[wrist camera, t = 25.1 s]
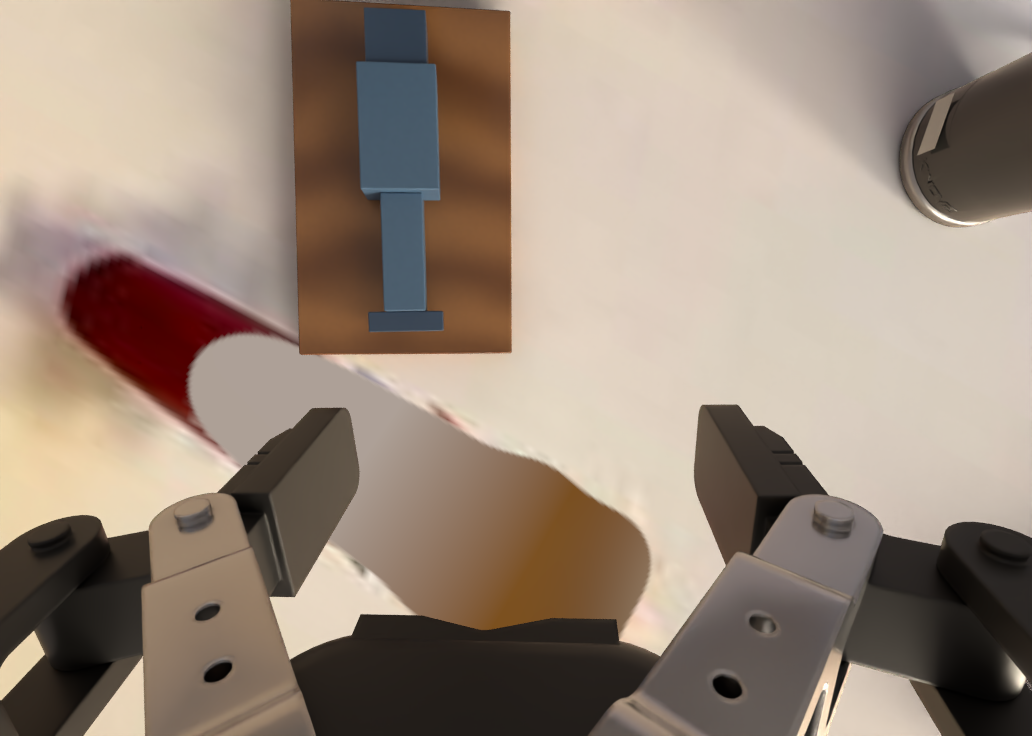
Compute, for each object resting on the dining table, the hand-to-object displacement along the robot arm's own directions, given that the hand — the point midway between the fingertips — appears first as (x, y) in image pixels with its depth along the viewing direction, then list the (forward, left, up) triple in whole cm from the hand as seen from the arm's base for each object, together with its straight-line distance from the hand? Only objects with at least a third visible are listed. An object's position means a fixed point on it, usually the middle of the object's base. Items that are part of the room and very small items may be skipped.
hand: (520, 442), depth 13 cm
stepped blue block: (-3, -12, -22) cm, 26 cm away
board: (-3, -12, -24) cm, 27 cm away
